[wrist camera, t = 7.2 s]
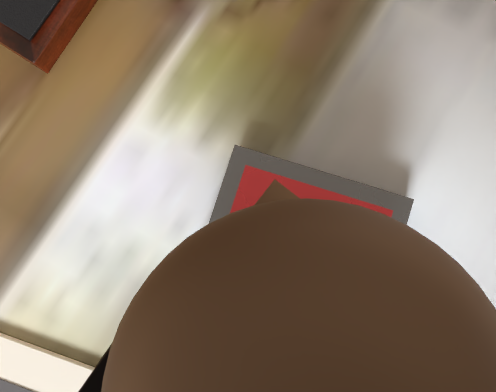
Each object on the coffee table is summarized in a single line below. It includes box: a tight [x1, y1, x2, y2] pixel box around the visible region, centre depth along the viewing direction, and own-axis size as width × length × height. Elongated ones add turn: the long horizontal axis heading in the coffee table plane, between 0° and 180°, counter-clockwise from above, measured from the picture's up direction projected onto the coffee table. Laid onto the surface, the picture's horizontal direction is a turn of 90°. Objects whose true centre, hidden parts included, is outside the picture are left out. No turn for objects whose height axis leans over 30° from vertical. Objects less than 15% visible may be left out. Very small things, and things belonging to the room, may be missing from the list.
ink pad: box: [209, 145, 414, 225], centre depth 17 cm, size 9×7×2 cm
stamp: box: [101, 179, 496, 392], centre depth 9 cm, size 5×5×13 cm
